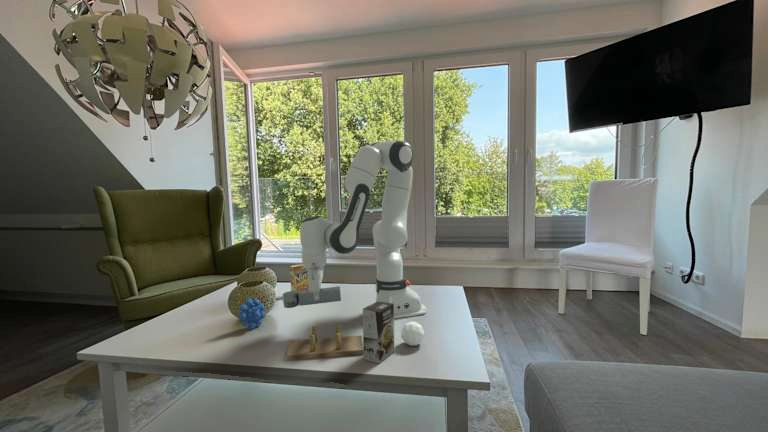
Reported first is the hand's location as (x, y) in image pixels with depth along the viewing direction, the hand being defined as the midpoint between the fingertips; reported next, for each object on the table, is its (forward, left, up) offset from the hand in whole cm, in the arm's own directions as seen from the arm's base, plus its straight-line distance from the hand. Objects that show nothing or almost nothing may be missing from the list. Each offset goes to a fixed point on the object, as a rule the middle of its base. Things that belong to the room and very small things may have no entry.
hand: (317, 297), depth 131 cm
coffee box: (-20, +22, -13) cm, 33 cm away
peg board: (-3, +15, -13) cm, 20 cm away
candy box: (+12, -48, -13) cm, 51 cm away
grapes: (+25, -7, -13) cm, 29 cm away
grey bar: (+2, 0, -2) cm, 3 cm away
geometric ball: (-32, +16, -13) cm, 39 cm away
